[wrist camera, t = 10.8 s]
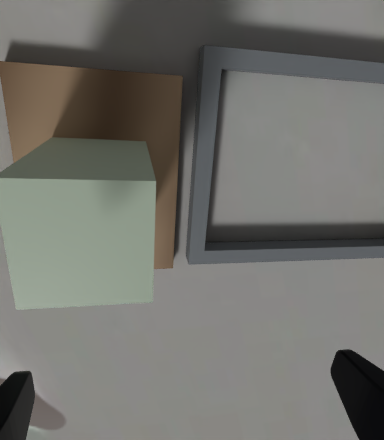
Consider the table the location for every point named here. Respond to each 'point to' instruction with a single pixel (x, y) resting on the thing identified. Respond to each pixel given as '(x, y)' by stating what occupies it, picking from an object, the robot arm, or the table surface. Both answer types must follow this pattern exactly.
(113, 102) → the walnut pad
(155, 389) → the table surface
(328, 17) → the table surface
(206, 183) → the bin rim
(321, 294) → the table surface
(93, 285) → the box
